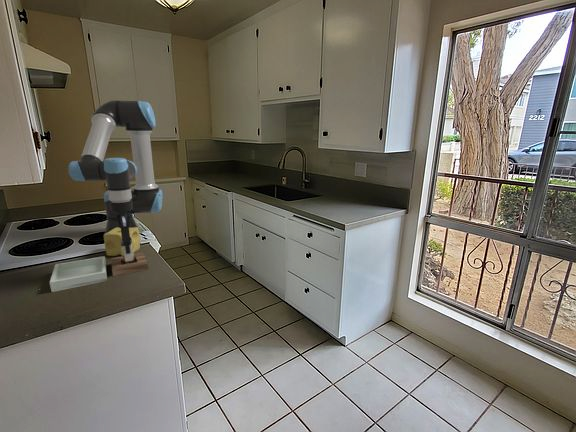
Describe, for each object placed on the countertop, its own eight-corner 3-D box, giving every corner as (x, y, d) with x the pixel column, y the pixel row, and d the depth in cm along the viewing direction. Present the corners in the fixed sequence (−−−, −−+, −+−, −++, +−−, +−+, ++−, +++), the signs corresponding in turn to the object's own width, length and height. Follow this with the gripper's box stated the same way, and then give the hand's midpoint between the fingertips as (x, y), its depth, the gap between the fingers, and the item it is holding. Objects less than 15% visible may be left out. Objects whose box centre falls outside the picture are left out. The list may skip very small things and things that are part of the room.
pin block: (111, 264, 123) (111, 258, 122) (144, 258, 129) (143, 252, 128) (113, 276, 113) (112, 270, 112) (148, 269, 119) (147, 263, 118)
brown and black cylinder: (123, 265, 122) (120, 239, 118) (134, 263, 123) (131, 238, 120) (124, 269, 118) (120, 243, 115) (135, 267, 120) (132, 241, 117)
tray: (57, 272, 115) (55, 264, 114) (106, 264, 123) (104, 256, 122) (51, 292, 102) (49, 282, 101) (107, 281, 109) (105, 272, 108)
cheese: (129, 256, 130) (126, 234, 127) (104, 256, 130) (101, 234, 127) (141, 247, 140) (139, 227, 137) (118, 247, 140) (115, 226, 137)
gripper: (108, 196, 118) (116, 252, 125) (109, 206, 104) (119, 268, 111) (130, 195, 122) (136, 249, 129) (134, 204, 108) (141, 264, 115)
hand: (128, 258), depth 120 cm, fingers closed on brown and black cylinder, 4 cm apart
